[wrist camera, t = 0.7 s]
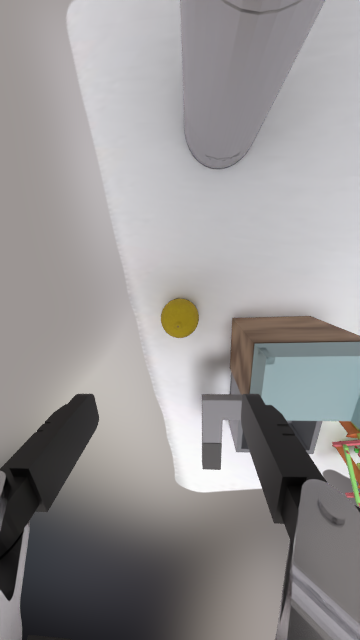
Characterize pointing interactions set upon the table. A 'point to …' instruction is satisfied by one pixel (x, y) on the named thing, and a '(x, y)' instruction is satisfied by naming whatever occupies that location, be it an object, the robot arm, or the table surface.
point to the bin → (302, 429)
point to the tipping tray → (291, 389)
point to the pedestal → (276, 339)
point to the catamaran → (355, 470)
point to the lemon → (179, 318)
